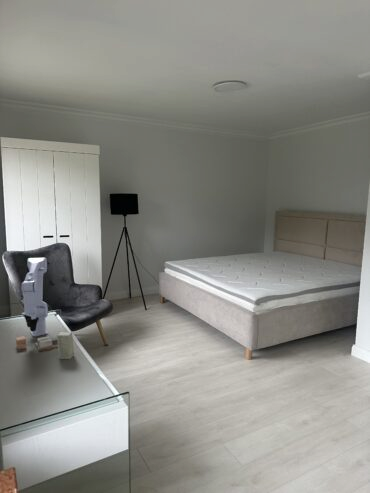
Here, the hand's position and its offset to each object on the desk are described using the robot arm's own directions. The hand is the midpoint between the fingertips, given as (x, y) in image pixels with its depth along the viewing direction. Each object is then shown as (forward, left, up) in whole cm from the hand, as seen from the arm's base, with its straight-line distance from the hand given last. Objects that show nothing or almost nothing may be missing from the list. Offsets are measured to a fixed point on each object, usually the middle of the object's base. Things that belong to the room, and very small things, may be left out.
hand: (31, 329), depth 179 cm
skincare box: (+23, +11, -10) cm, 27 cm away
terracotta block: (-2, -5, -10) cm, 11 cm away
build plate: (+4, +7, -10) cm, 12 cm away
